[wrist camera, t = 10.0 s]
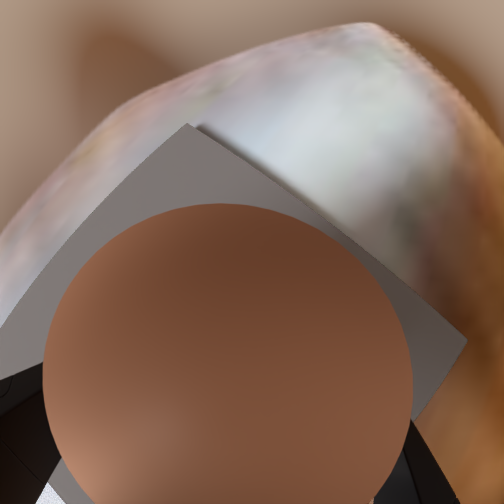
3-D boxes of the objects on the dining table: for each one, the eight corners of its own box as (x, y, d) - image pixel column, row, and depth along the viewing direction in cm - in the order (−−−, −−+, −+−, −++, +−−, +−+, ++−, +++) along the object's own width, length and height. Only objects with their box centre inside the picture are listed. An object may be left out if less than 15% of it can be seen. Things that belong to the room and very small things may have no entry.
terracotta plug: (331, 389, 14) (464, 455, 3) (239, 434, 14) (140, 580, 2) (284, 301, 16) (290, 148, 4) (194, 346, 15) (12, 298, 4)
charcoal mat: (459, 341, 15) (468, 340, 14) (186, 594, 10) (182, 602, 9) (190, 132, 21) (187, 123, 20) (-14, 366, 17) (-23, 365, 16)
